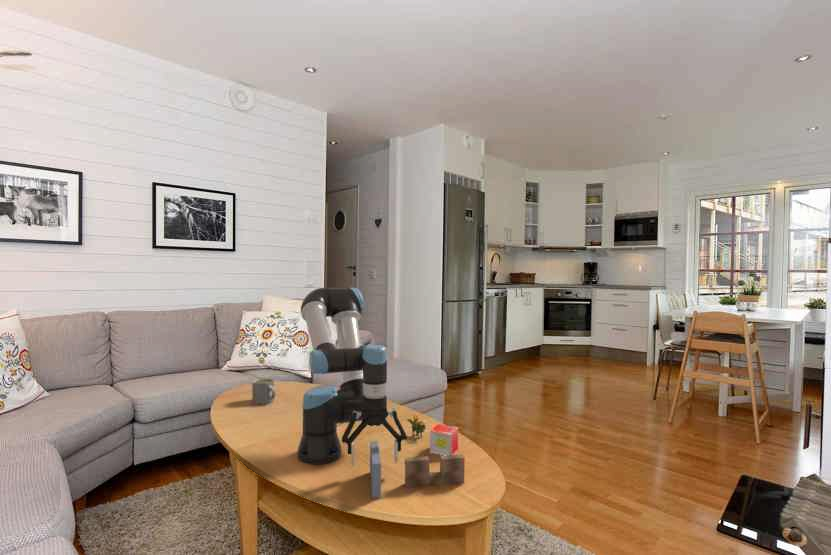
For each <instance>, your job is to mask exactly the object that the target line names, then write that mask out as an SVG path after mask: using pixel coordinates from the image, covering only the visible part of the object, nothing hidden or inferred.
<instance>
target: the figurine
mask: <svg viewBox="0 0 831 555" xmlns="http://www.w3.org/2000/svg"><path fill="white" fill-rule="evenodd" d="M406 420H407V421H408V422H409V423H410V424H411V431H412V432H411V433H412V436H413V437H416V436H417V439H418V440H419V439H421V438H422V439H423V435H422V433H426V430H427V428H426V425H425V423H424V422H423V420H421V421H420V420H419V418H418V415H417V414H414V415H413V420H412V418H406ZM419 435H420V436H419Z"/></svg>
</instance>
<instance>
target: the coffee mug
mask: <svg viewBox="0 0 831 555" xmlns="http://www.w3.org/2000/svg"><path fill="white" fill-rule="evenodd" d="M251 386H252V387H251V388H252V390H251V391H252V392H251V393H252V394H251V397H252V399H251V400H252V402H253V403H254V405H256V404H264V405H268V404H272V403H274V401H275V397H276V396H277V391H276V388H275V379H273V378H258V379H254V380H253V381H252V383H251ZM252 402H251V403H252ZM253 403H252V404H253Z"/></svg>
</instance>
